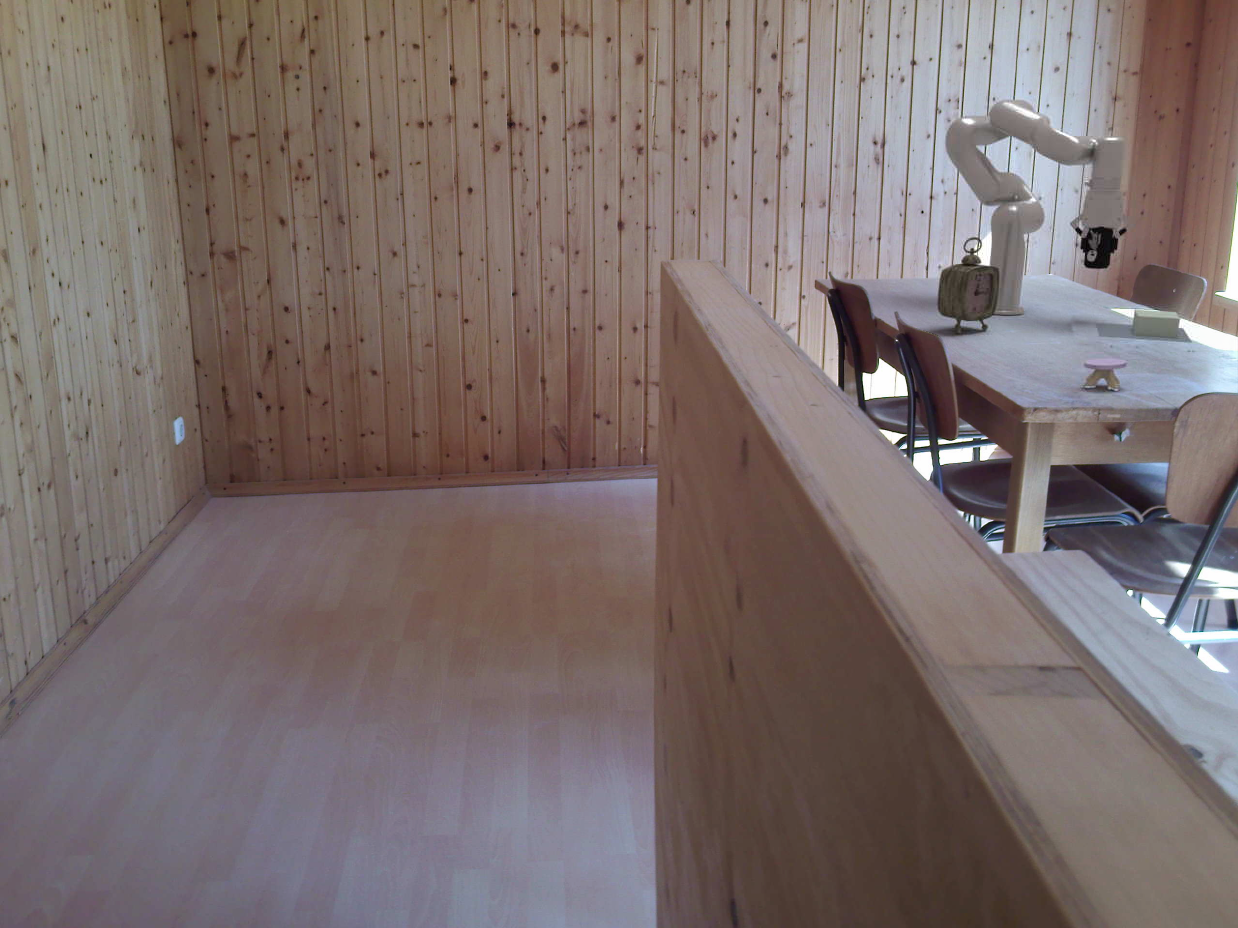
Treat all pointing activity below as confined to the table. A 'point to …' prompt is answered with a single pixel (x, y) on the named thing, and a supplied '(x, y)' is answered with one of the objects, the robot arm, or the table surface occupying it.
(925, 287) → the table surface
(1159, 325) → the plinth
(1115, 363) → the toy table
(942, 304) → the tabletop clock
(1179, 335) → the board
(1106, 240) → the beverage can
